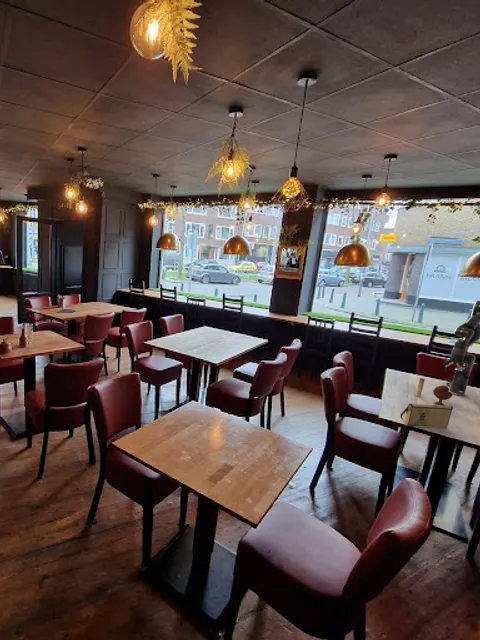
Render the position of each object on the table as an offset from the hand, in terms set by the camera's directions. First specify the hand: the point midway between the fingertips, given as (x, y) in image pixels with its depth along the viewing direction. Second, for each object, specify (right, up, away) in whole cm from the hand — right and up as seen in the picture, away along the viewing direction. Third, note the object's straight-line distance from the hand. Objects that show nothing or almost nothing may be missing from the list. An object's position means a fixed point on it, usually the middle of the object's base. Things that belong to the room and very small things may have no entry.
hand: (452, 373), depth 259 cm
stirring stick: (-26, -17, 0) cm, 31 cm away
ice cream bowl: (-20, -20, -12) cm, 31 cm away
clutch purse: (-59, -25, -46) cm, 79 cm away
